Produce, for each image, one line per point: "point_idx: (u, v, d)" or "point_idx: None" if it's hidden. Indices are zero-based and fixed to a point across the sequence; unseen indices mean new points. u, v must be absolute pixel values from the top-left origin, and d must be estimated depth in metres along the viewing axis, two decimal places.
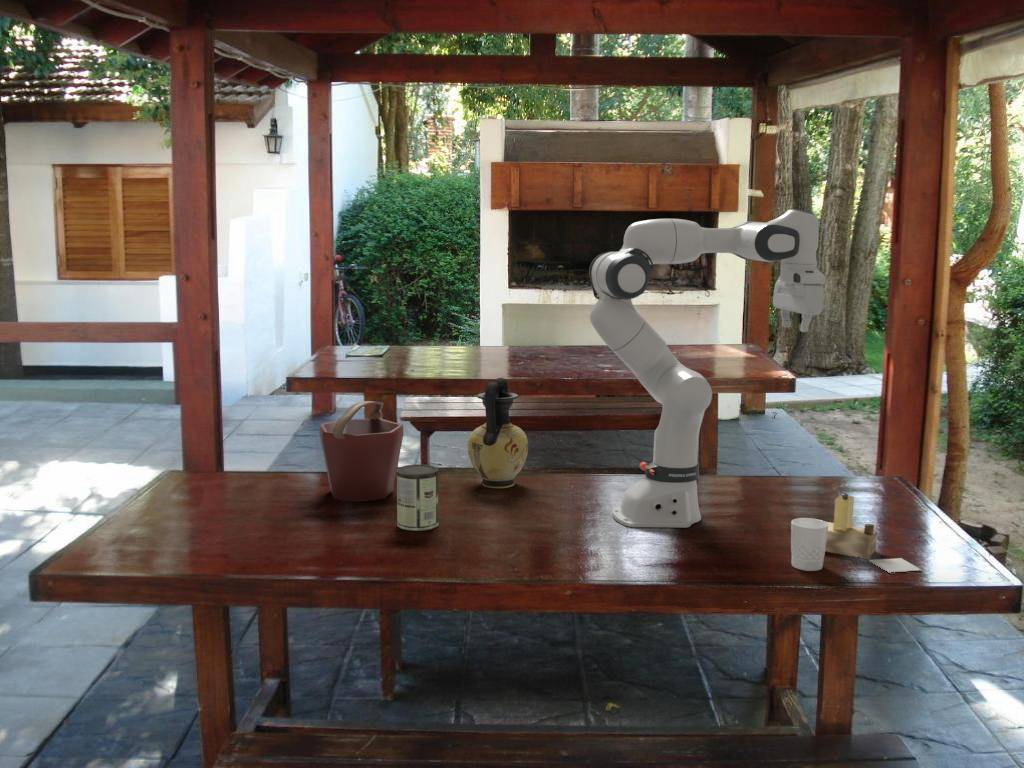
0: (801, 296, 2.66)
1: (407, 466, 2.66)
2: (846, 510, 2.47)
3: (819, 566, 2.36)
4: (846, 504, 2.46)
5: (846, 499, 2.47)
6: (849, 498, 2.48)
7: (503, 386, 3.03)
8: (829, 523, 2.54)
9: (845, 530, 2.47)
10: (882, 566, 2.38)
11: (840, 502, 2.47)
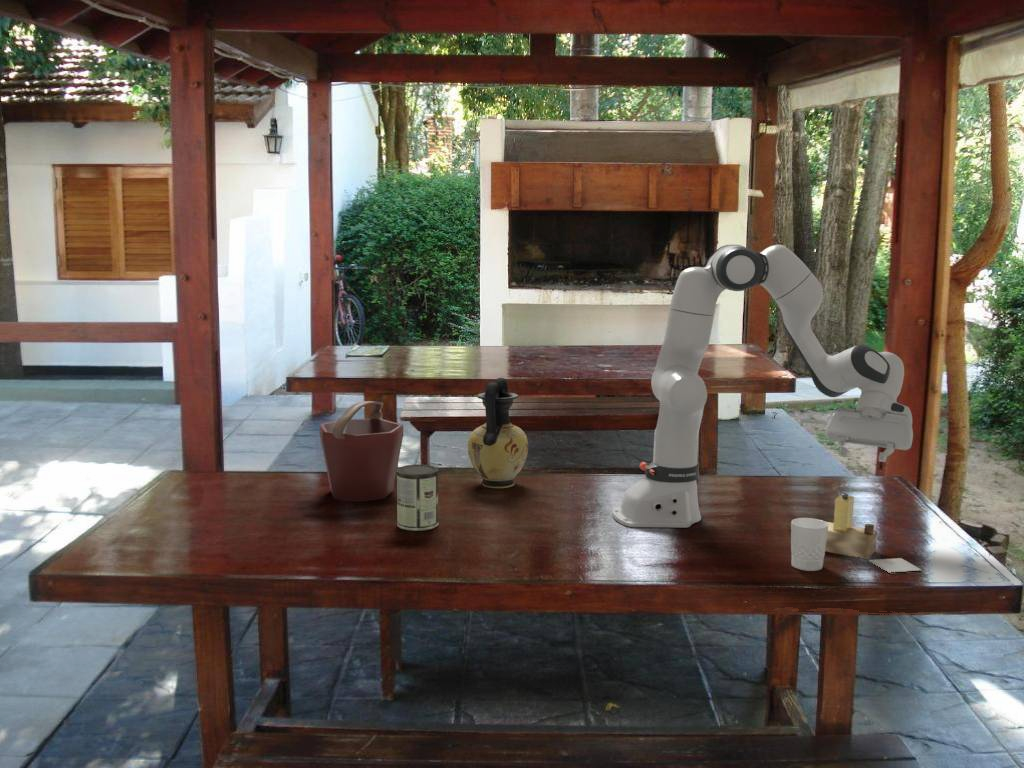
0: (892, 426, 2.58)
1: (407, 466, 2.66)
2: (846, 510, 2.47)
3: (819, 566, 2.36)
4: (846, 504, 2.46)
5: (846, 499, 2.47)
6: (849, 498, 2.48)
7: (503, 386, 3.03)
8: (829, 523, 2.54)
9: (845, 530, 2.47)
10: (882, 566, 2.38)
11: (840, 502, 2.47)
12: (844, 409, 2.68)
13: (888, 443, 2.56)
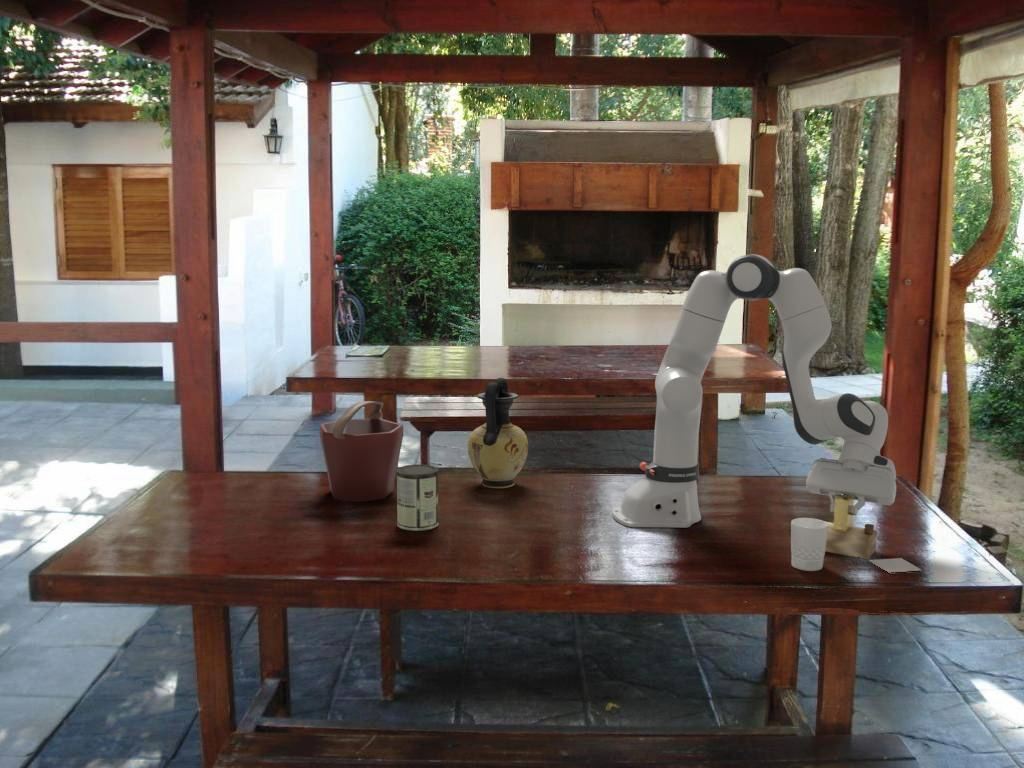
0: (875, 480, 2.49)
1: (407, 466, 2.66)
2: (846, 510, 2.47)
3: (819, 566, 2.36)
4: (846, 504, 2.46)
5: (846, 499, 2.47)
6: (849, 498, 2.48)
7: (503, 386, 3.03)
8: (829, 523, 2.54)
9: (845, 530, 2.47)
10: (882, 566, 2.38)
11: (840, 502, 2.47)
12: (826, 460, 2.58)
13: (859, 496, 2.48)
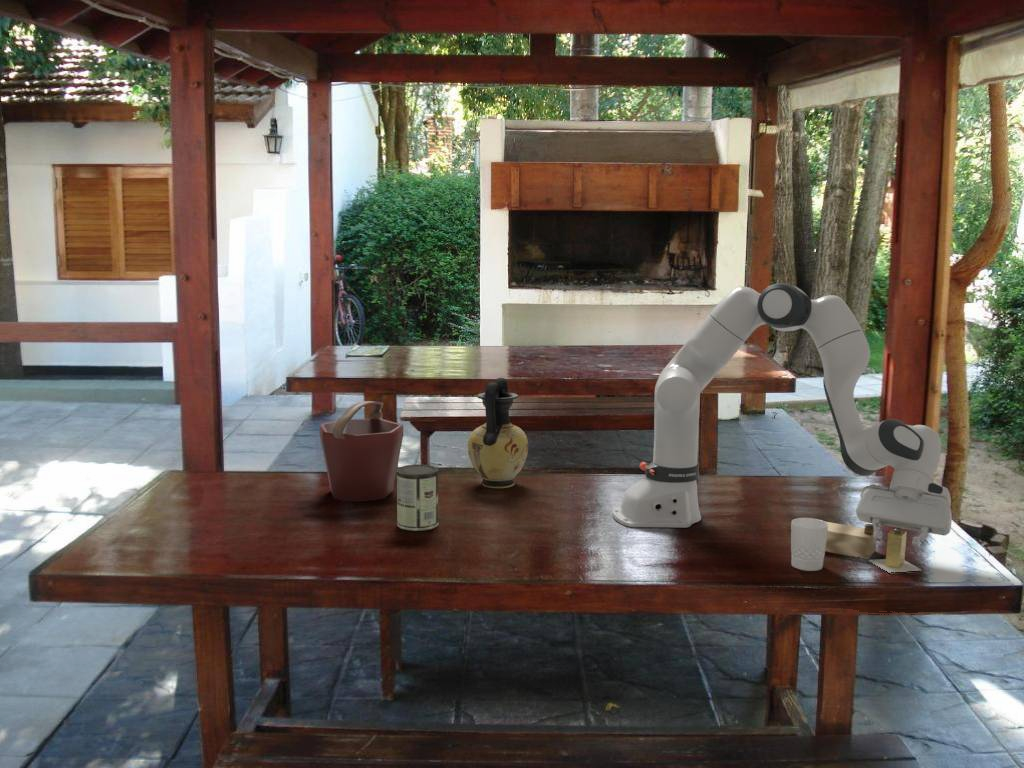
0: (929, 509, 2.38)
1: (407, 466, 2.66)
2: (899, 546, 2.36)
3: (819, 566, 2.36)
4: (899, 539, 2.36)
5: (899, 534, 2.37)
6: (902, 533, 2.38)
7: (503, 386, 3.03)
8: (829, 523, 2.54)
9: (898, 566, 2.37)
10: (882, 566, 2.38)
11: (892, 537, 2.37)
12: (876, 487, 2.48)
13: (922, 527, 2.37)
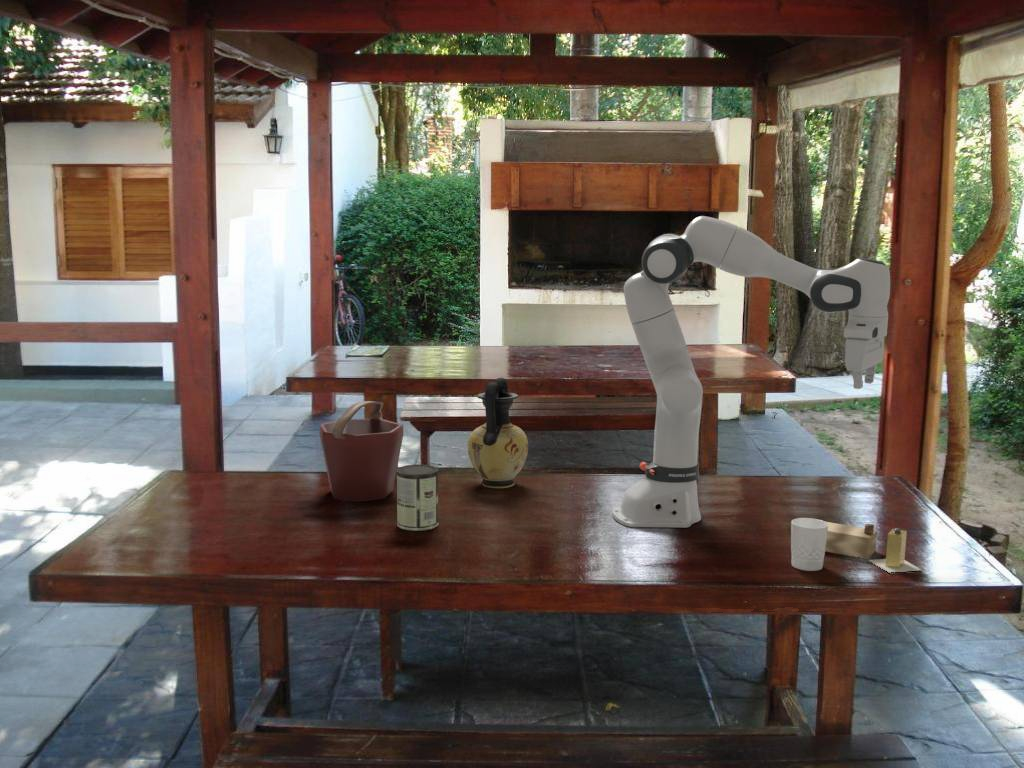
0: None
1: (407, 466, 2.66)
2: (899, 546, 2.36)
3: (819, 566, 2.36)
4: (899, 539, 2.36)
5: (899, 534, 2.37)
6: (902, 533, 2.38)
7: (503, 386, 3.03)
8: (829, 523, 2.54)
9: (898, 566, 2.37)
10: (882, 566, 2.38)
11: (892, 537, 2.37)
12: None
13: None
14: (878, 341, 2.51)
